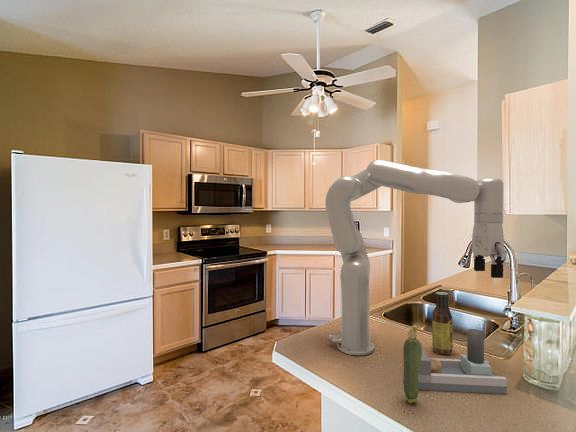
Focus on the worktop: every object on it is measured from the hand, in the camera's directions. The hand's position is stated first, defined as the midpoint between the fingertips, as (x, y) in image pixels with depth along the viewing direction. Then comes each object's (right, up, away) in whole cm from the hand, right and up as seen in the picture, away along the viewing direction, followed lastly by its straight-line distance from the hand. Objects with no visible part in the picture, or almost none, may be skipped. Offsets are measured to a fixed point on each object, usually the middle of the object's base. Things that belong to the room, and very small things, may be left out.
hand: (487, 274), depth 98 cm
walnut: (-21, -27, -9) cm, 35 cm away
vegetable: (-30, -29, -18) cm, 46 cm away
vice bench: (-16, -29, -9) cm, 34 cm away
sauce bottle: (-10, -28, +9) cm, 31 cm away
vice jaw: (-10, -26, -10) cm, 30 cm away
